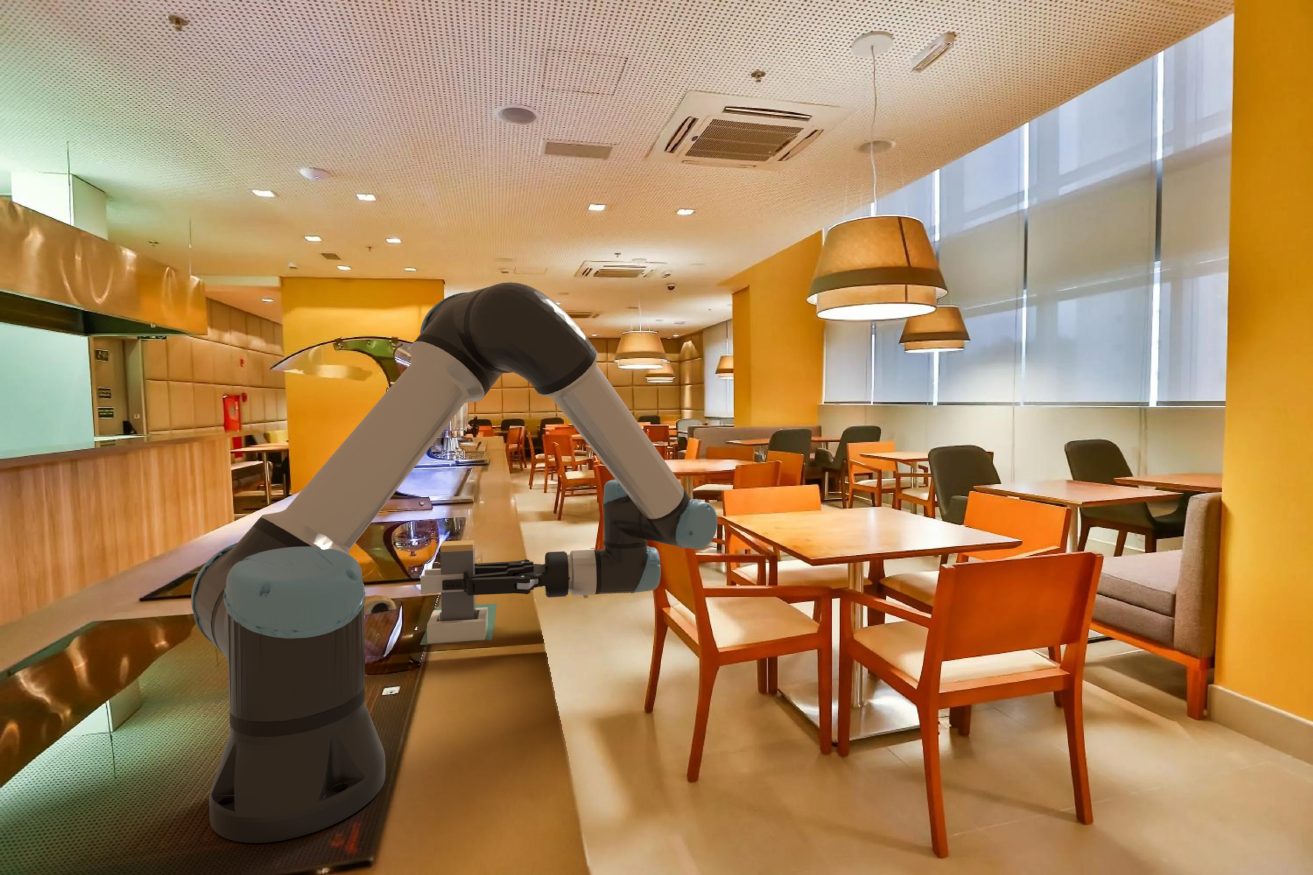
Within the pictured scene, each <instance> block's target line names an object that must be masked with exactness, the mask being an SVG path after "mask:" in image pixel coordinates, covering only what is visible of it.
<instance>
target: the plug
mask: <svg viewBox="0 0 1313 875" xmlns="http://www.w3.org/2000/svg"><path fill="white" fill-rule="evenodd" d="M439 548H440V569H441V575H446V574H463V572H464V571H467V572H468V575H475V563H476V560H475V559H476V556H475V555H476V553H475V550H476V549H475V548H476V547H475V539H472V540H471V539H469V540H449V541H448V540H447V541H442V542H441V544H440V546H439ZM440 594H441V595H440V601H441V602H440V603H441V604H440V607H441V614H442V621H456V620H472V619H476V613H475V605H476V595H471V596H470V595H467V593H466V592H464V591H462V592H444V593H440Z"/></svg>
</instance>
